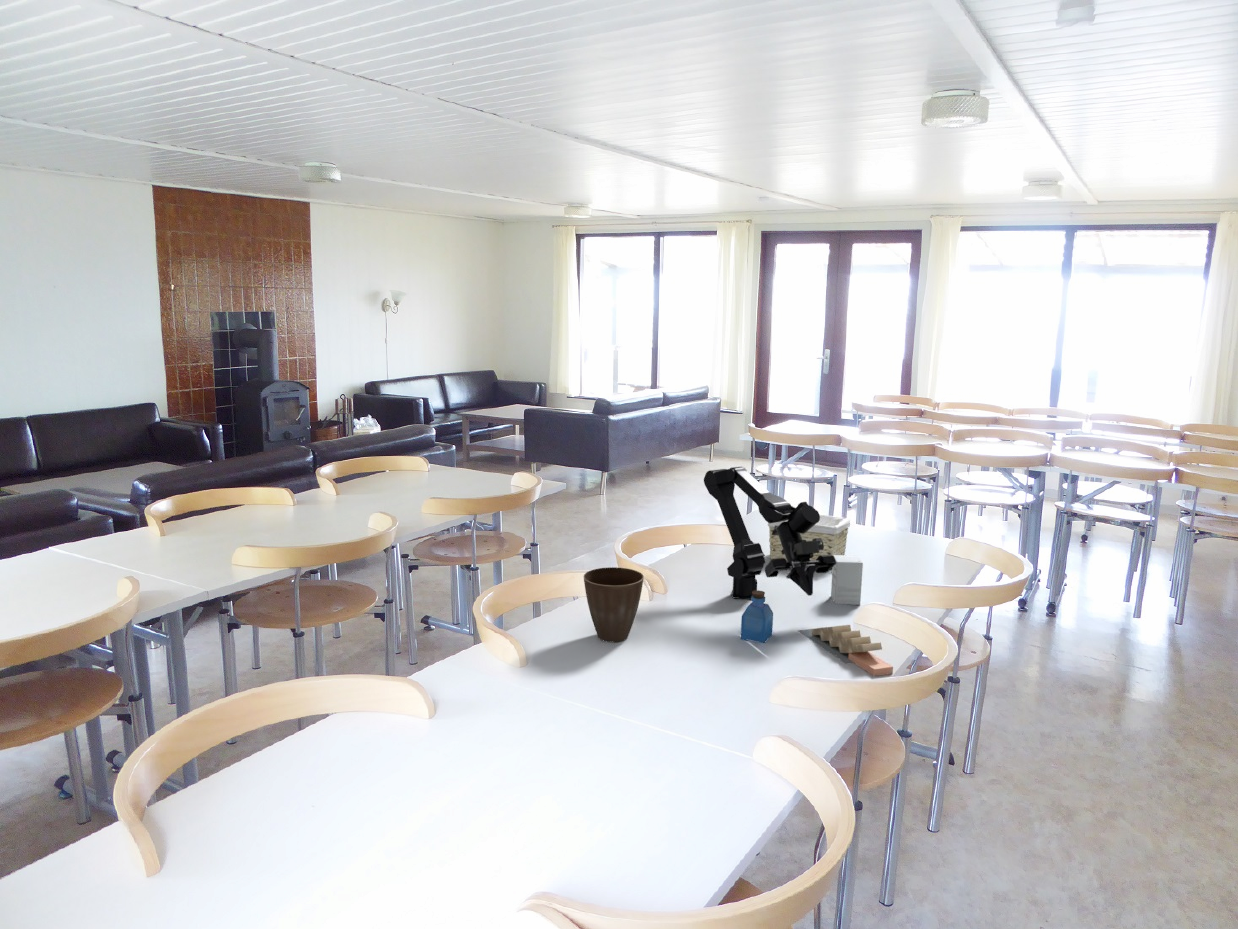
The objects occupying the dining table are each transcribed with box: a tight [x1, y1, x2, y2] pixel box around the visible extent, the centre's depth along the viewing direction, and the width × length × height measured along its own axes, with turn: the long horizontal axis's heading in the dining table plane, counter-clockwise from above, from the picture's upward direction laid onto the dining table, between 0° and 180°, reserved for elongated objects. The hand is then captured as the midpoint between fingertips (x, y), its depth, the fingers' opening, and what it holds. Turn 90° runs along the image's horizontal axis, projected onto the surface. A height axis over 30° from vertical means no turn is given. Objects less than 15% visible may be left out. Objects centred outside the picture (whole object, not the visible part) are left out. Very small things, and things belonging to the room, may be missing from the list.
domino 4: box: [839, 642, 883, 653], centre depth 200 cm, size 2×5×10 cm
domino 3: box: [829, 636, 872, 647], centre depth 204 cm, size 2×5×10 cm
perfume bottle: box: [740, 589, 774, 644], centre depth 213 cm, size 6×6×12 cm
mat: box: [797, 626, 855, 664], centre depth 209 cm, size 22×9×1 cm, turn 19°
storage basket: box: [767, 514, 851, 561], centre depth 283 cm, size 24×16×15 cm
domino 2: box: [820, 630, 862, 641], centre depth 208 cm, size 2×5×10 cm
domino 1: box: [811, 624, 852, 635], centre depth 211 cm, size 2×5×10 cm
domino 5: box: [848, 651, 894, 677], centre depth 196 cm, size 2×5×10 cm
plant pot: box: [583, 566, 645, 643], centre depth 211 cm, size 15×15×16 cm
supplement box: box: [830, 554, 864, 606], centre depth 242 cm, size 7×7×13 cm
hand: (810, 594), depth 219 cm, fingers closed
